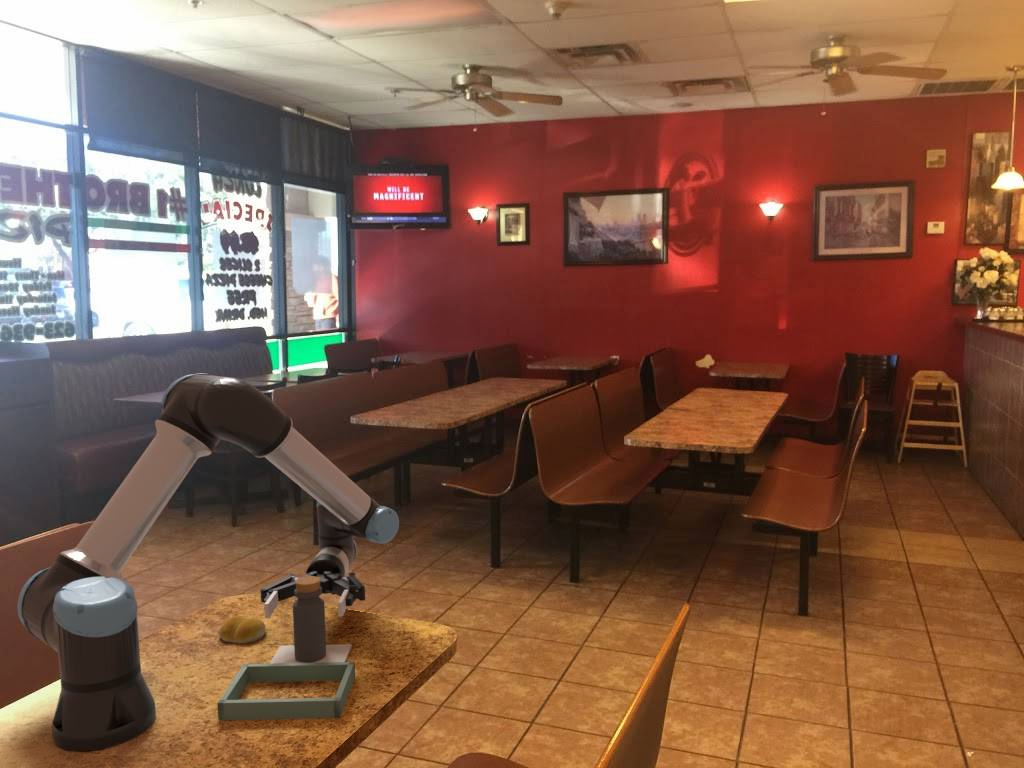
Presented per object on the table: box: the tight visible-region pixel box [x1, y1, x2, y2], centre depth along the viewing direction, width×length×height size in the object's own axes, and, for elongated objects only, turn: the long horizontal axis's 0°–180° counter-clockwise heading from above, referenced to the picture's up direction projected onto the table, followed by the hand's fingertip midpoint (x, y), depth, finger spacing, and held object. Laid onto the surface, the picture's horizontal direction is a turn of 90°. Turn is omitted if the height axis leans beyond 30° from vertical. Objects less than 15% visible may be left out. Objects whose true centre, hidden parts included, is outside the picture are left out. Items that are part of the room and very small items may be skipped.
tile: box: [268, 643, 353, 664], centre depth 159 cm, size 14×10×1 cm
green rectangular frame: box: [217, 661, 356, 721], centre depth 144 cm, size 20×14×3 cm
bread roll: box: [217, 615, 266, 644], centre depth 170 cm, size 8×9×4 cm
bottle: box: [292, 576, 327, 662], centre depth 158 cm, size 6×6×15 cm
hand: (303, 610), depth 154 cm, fingers open, 13 cm apart
